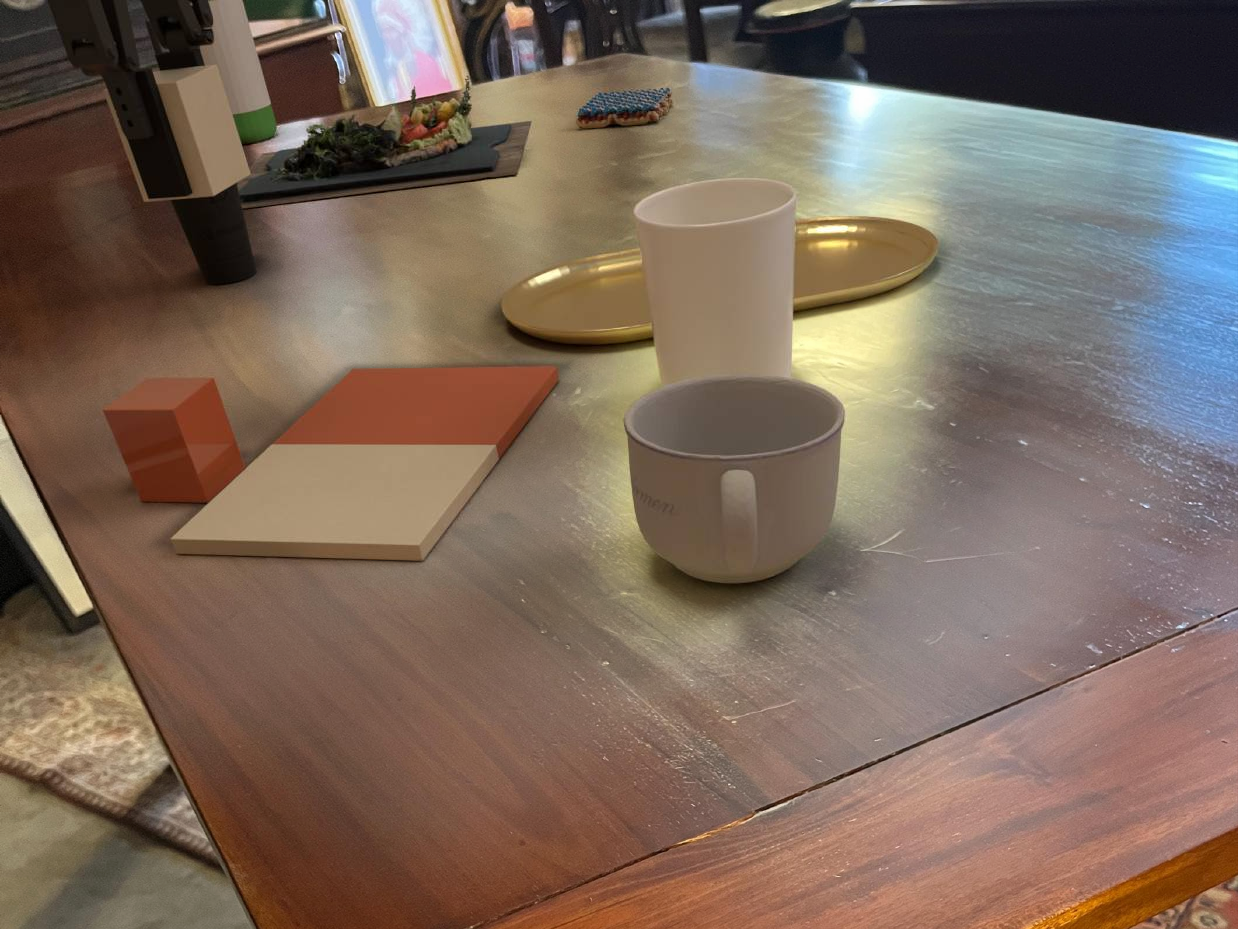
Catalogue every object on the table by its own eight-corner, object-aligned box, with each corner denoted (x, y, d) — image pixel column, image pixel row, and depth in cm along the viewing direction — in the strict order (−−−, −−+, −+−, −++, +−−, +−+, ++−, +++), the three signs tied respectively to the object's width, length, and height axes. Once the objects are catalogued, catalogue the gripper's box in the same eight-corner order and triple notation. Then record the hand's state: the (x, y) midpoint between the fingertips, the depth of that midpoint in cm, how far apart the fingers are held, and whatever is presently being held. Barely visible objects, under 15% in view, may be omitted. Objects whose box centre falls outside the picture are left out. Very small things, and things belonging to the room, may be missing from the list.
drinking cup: (173, 286, 114) (82, 30, 100) (235, 260, 118) (156, 12, 104) (225, 293, 110) (139, 30, 96) (287, 267, 114) (213, 11, 101)
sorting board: (175, 554, 72) (169, 538, 71) (356, 382, 90) (352, 368, 89) (423, 561, 68) (418, 544, 67) (559, 379, 86) (557, 365, 85)
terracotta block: (140, 502, 78) (102, 410, 74) (180, 467, 81) (145, 378, 77) (208, 503, 77) (173, 409, 72) (245, 468, 80) (214, 377, 76)
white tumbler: (794, 430, 75) (789, 219, 67) (641, 434, 77) (617, 230, 69) (807, 369, 82) (804, 172, 74) (667, 375, 84) (648, 183, 76)
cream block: (143, 202, 75) (102, 90, 71) (183, 180, 79) (146, 72, 75) (213, 196, 74) (176, 82, 70) (251, 174, 78) (217, 64, 74)
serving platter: (491, 294, 102) (488, 274, 101) (887, 223, 105) (888, 203, 104) (521, 370, 88) (517, 348, 87) (976, 285, 91) (977, 263, 90)
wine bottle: (220, 150, 158) (129, -148, 138) (222, 138, 164) (134, -150, 143) (279, 140, 159) (197, -158, 139) (279, 128, 165) (200, -159, 144)
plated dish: (531, 119, 152) (520, 50, 147) (522, 179, 131) (509, 101, 126) (260, 158, 154) (240, 91, 149) (209, 222, 133) (184, 147, 128)
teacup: (663, 508, 69) (648, 367, 64) (853, 508, 67) (854, 361, 62) (607, 640, 60) (583, 486, 54) (827, 644, 57) (825, 485, 52)
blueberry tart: (677, 104, 149) (675, 85, 148) (658, 125, 142) (656, 105, 141) (596, 110, 152) (594, 91, 151) (573, 131, 144) (571, 111, 143)
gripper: (-27, -353, 53) (173, 222, 69) (177, -342, 66) (307, 143, 82) (-163, -325, 55) (62, 230, 71) (60, -319, 68) (209, 150, 83)
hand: (193, 182), depth 76 cm, fingers closed on cream block, 5 cm apart
